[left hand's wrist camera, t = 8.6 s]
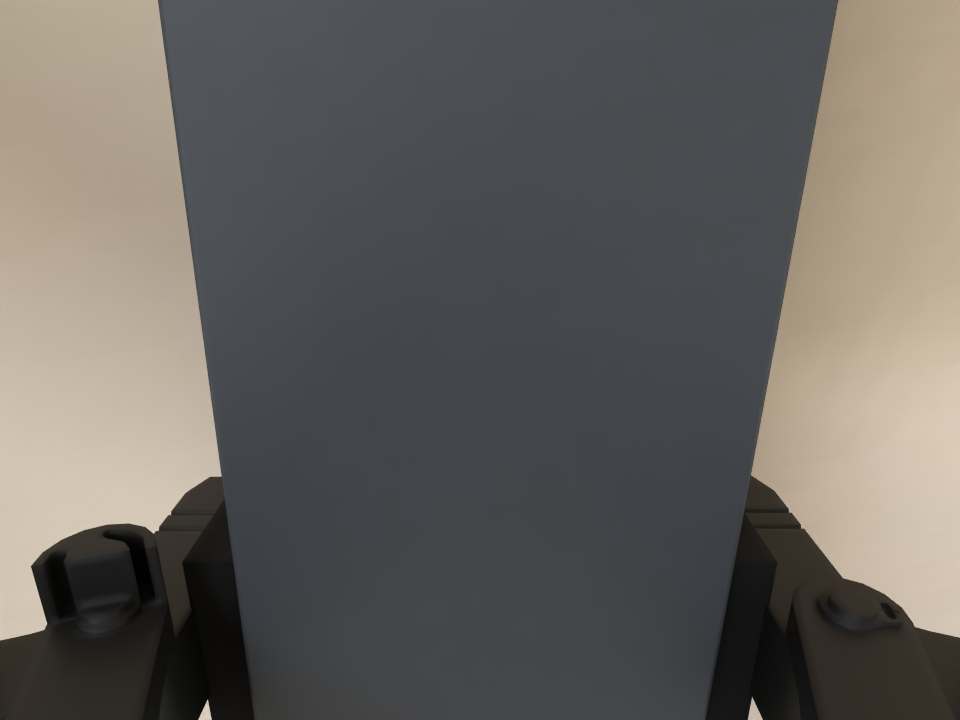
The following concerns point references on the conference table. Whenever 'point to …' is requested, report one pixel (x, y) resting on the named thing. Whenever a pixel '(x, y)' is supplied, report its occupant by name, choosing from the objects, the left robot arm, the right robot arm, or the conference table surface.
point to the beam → (489, 335)
